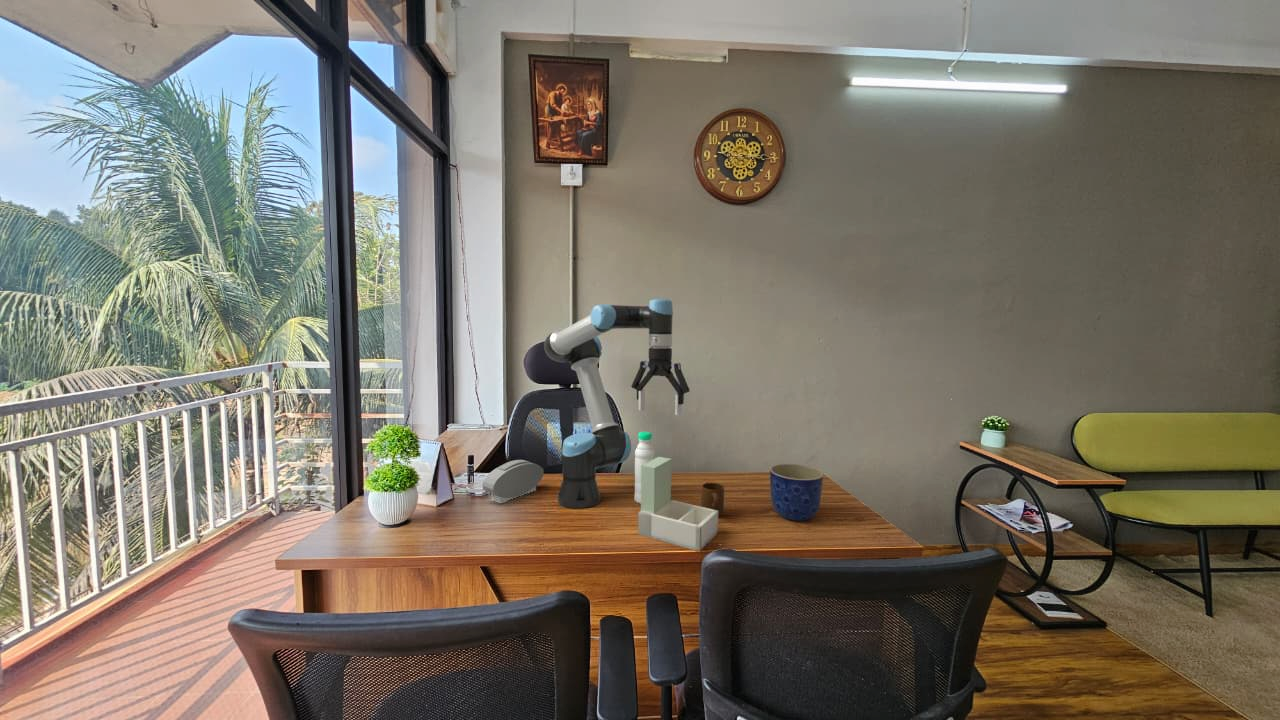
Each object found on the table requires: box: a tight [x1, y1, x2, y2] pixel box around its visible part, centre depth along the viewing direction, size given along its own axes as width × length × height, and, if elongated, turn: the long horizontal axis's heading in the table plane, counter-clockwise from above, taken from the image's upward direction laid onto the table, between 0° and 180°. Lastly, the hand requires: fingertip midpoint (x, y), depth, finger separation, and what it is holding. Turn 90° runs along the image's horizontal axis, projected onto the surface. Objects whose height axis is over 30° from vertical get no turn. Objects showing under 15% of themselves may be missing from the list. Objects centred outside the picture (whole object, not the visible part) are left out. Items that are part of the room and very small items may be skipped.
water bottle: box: [634, 431, 655, 505], centre depth 168 cm, size 7×7×25 cm
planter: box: [769, 463, 825, 522], centre depth 157 cm, size 17×17×15 cm
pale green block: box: [640, 456, 672, 514], centre depth 146 cm, size 4×11×14 cm, turn 149°
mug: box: [700, 482, 725, 518], centre depth 157 cm, size 12×8×9 cm, turn 0°
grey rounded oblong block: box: [482, 459, 545, 503], centre depth 173 cm, size 23×6×13 cm, turn 144°
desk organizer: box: [637, 499, 719, 552], centre depth 143 cm, size 20×14×9 cm
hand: (659, 412), depth 155 cm, fingers open, 13 cm apart
